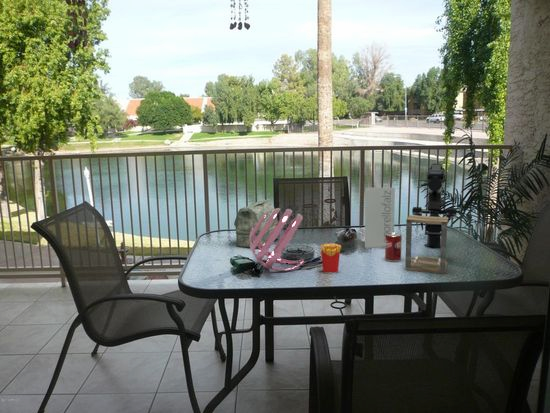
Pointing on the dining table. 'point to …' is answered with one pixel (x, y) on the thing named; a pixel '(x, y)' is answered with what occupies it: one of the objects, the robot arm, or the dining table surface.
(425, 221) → the wooden open frame
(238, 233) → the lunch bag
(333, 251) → the french fries
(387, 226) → the white box
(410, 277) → the dining table surface
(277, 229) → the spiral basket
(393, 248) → the soda can
